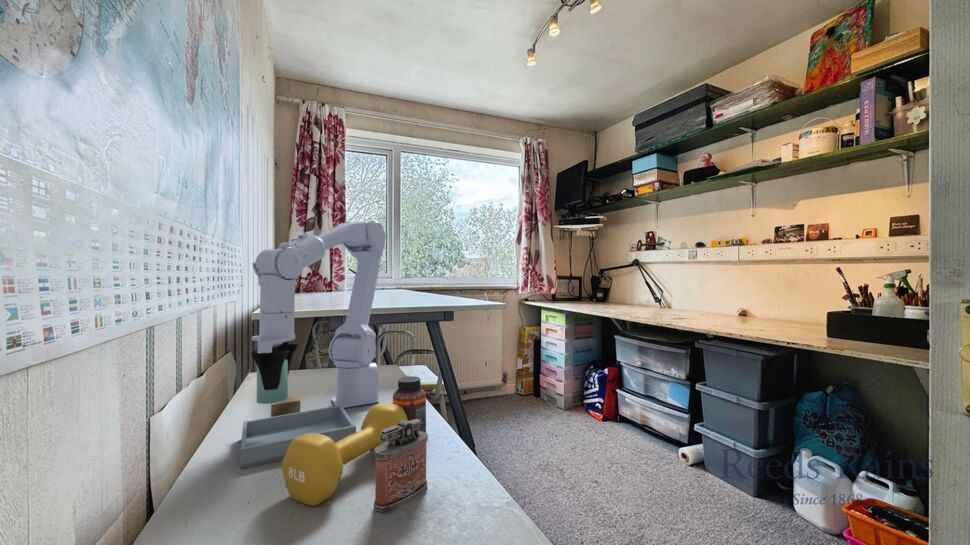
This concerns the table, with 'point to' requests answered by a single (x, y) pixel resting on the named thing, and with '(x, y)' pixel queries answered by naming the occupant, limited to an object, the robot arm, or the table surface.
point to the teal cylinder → (276, 394)
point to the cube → (286, 406)
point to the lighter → (400, 466)
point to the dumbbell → (333, 455)
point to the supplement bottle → (411, 399)
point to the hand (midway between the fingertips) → (276, 385)
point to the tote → (290, 433)
